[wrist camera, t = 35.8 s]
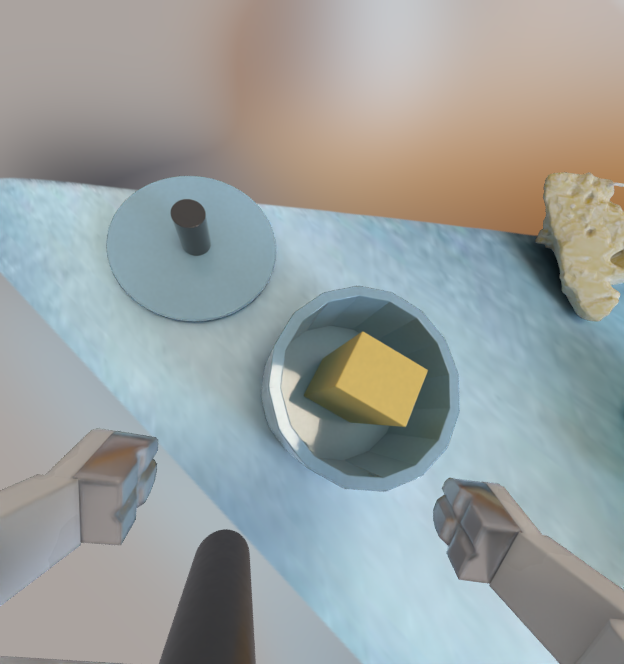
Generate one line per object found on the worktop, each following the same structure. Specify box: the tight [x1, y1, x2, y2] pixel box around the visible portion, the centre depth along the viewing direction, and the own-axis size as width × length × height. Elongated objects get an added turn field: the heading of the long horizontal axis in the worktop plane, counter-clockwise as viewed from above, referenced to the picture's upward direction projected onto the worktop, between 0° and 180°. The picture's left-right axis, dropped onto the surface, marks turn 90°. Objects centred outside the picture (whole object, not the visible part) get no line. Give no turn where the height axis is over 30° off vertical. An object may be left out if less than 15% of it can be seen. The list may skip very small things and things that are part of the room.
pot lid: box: [106, 176, 276, 321], centre depth 27 cm, size 15×15×6 cm
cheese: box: [535, 172, 624, 322], centre depth 37 cm, size 15×7×15 cm
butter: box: [304, 331, 428, 427], centre depth 24 cm, size 4×5×10 cm
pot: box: [261, 286, 460, 492], centre depth 25 cm, size 14×14×8 cm
